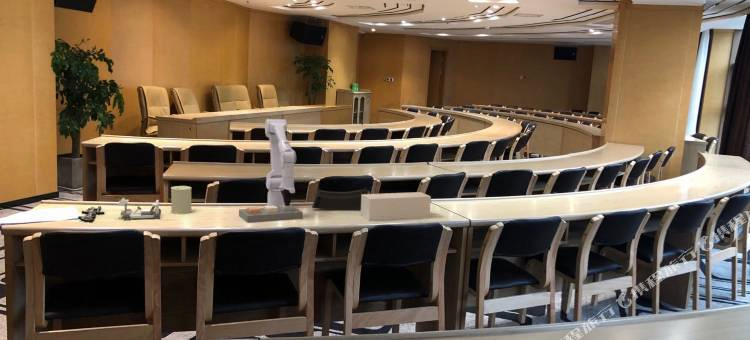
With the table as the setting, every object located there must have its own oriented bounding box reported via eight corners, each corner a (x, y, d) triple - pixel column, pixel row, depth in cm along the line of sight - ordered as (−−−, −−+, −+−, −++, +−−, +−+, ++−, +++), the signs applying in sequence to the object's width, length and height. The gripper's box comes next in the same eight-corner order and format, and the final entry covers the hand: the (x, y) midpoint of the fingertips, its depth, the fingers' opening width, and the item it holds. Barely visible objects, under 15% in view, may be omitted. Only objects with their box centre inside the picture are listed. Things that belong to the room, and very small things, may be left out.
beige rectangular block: (419, 213, 305) (420, 192, 303) (429, 217, 295) (430, 196, 293) (360, 216, 292) (361, 194, 290) (369, 221, 282) (369, 198, 281)
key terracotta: (246, 213, 279) (247, 207, 278) (257, 212, 281) (257, 206, 280) (250, 216, 274) (250, 209, 274) (260, 215, 277) (260, 208, 276)
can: (166, 212, 282) (166, 187, 280) (178, 208, 290) (178, 184, 289) (184, 214, 279) (183, 189, 277) (195, 210, 288) (195, 186, 286)
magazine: (308, 192, 297) (366, 175, 301) (307, 191, 300) (365, 174, 304) (317, 225, 300) (374, 208, 305) (316, 223, 303) (373, 206, 308)
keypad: (238, 215, 282) (238, 209, 281) (291, 212, 294) (291, 205, 293) (247, 222, 269) (247, 216, 269) (302, 218, 282) (302, 212, 281)
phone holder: (116, 199, 262) (118, 194, 273) (116, 221, 263) (119, 215, 274) (160, 198, 267) (160, 193, 278) (160, 220, 269) (161, 214, 280)
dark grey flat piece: (102, 219, 259) (76, 220, 256) (102, 223, 260) (76, 224, 256) (106, 206, 285) (82, 206, 281) (106, 209, 285) (82, 210, 282)
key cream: (263, 212, 282) (263, 206, 282) (274, 211, 285) (274, 205, 284) (267, 214, 278) (267, 208, 278) (277, 214, 280) (277, 207, 280)
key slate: (280, 211, 286) (280, 205, 286) (290, 210, 288) (290, 204, 288) (283, 213, 282) (283, 207, 281) (293, 212, 284) (294, 206, 284)
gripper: (274, 174, 287) (274, 202, 289) (284, 179, 274) (284, 209, 276) (288, 174, 290) (288, 201, 292) (299, 179, 278) (298, 208, 280)
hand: (287, 205), depth 285 cm, fingers closed
